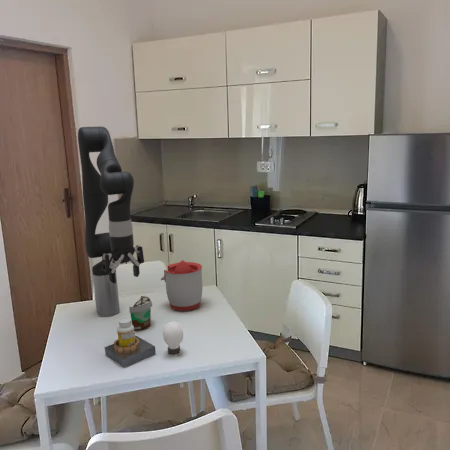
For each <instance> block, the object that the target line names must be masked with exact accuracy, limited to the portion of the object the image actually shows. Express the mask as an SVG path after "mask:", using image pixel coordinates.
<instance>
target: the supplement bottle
mask: <svg viewBox="0 0 450 450" xmlns="http://www.w3.org/2000/svg"><path fill="white" fill-rule="evenodd" d="M116 330H117V332H116V333H117V340H118V341H119V346H120V347H128V346H131V345H134V344H135V331H134V326H133V325H132V321H131V317H130V318H129V317H123V318H120V319H119V320H118V326H117V329H116Z"/></svg>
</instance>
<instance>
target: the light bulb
mask: <svg viewBox="0 0 450 450" xmlns="http://www.w3.org/2000/svg"><path fill="white" fill-rule="evenodd" d="M162 337H163V341H164V343H165V344H166V345H167V346H168V347H167V355H170V356H177V355H179V354H181V343H182V342H183V339H184V330H183V327H182V325H181V324H180V323H179V322H178V321H175V320H172V321H171V320H170V321H168V322H167V323H166V324H165V325H164V327H163V330H162Z"/></svg>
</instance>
